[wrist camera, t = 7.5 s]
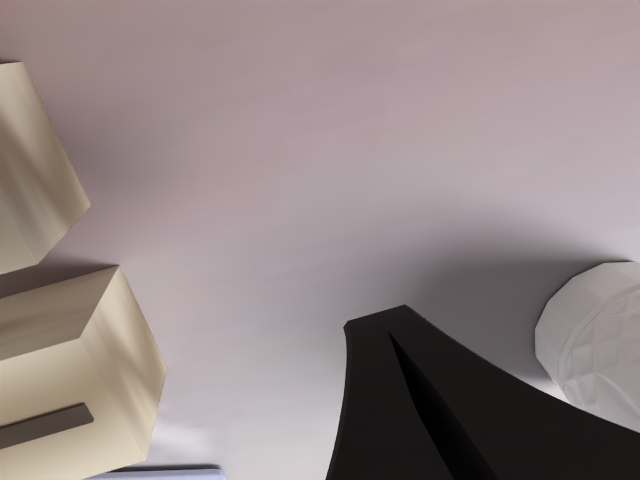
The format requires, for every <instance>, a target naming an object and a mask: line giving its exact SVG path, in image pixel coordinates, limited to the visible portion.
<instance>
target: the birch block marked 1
mask: <svg viewBox="0 0 640 480" xmlns="http://www.w3.org/2000/svg"><path fill="white" fill-rule="evenodd" d="M167 368H168V367H167V365H166V362H165V360H164V358H163V356H162V354H161V352H160V350H159V348H158V345H157V343H156V341H155V339H154V337H153V335H152V333H151V331H150V328H149V326H148V324H147V322H146V320H145V318H144V316H143V314H142V311H141V309H140V307H139V305H138V303H137V301H136V299H135V297H134V294H133V292H132V290H131V288H130V286H129V284H128V282H127V279H126V277H125V275H124V273H123V271H122V269H121V267H120V265H117V266H114V267H110V268H107V269H103V270H100V271H96V272H93V273H89V274H86V275H82V276H79V277H75V278H71V279H68V280H64V281H61V282H57V283H54V284H50V285H47V286H43V287H40V288H36V289H33V290H29V291H26V292H22V293H18V294H15V295H11V296H8V297H4V298H1V299H0V480H81V479H85V478H88V477H91V476H95V475H98V474H101V473H105V472H108V471H111V470H115V469H118V468H121V467H125V466H128V465H131V464H135V463H138V462H141V461H145V460H146V458H147V454H148V450H149V445H150V441H151V437H152V432H153V428H154V424H155V419H156V415H157V411H158V406H159V402H160V398H161V394H162V389H163V385H164V381H165V376H166V372H167Z"/></svg>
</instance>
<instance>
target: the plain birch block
mask: <svg viewBox="0 0 640 480" xmlns="http://www.w3.org/2000/svg"><path fill="white" fill-rule="evenodd" d="M90 206H91V204H90V202H89V200H88V198H87V196H86V194H85V192H84V190H83V188H82V186H81V183H80V181H79V179H78V177H77V175H76V173H75V171H74V169H73V167H72V165H71V162H70V160H69V158H68V156H67V154H66V152H65V150H64V148H63V146H62V144H61V141H60V139H59V137H58V135H57V133H56V131H55V129H54V127H53V125H52V122H51V120H50V118H49V116H48V114H47V112H46V110H45V108H44V106H43V104H42V101H41V99H40V97H39V95H38V93H37V91H36V89H35V87H34V85H33V83H32V80H31V78H30V76H29V74H28V72H27V70H26V68H25V66H24V64H23V62H16V63H6V64H0V275H1V274H5V273H8V272H12V271H15V270H19V269H22V268H26V267H29V266H33V265H36V264H38V263H39V262H40V261H41V260H42V259H43V258H44V257H45V256H46V255H47V253H48V252H49V251H50V250H51V249H52V248H53V247H54V246H55V245H56V244H57V242H58V241H59V240H60V239H61V238H62V237H63V236H64V235H65V234H66V232H67V231H68V230H69V229H70V228H71V227H72V226H73V225H74V224H75V223H76V221H77V220H78V219H79V218H80V217H81V216H82V215H83V214H84V213H85V212H86V210H87V209H88V208H89V207H90Z"/></svg>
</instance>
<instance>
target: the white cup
mask: <svg viewBox="0 0 640 480" xmlns="http://www.w3.org/2000/svg"><path fill="white" fill-rule="evenodd" d="M535 356H536V358H537V359H538V361H539V362H540V364H541V365H542V367H543V368H544V369H545V371H546V372H547V374H548V375H549V377H550V378H551V379H552V380H553V382H554V383H555V384H556V385H557V386H558V388H559V389H560V390H561V391H562V392H563V394H564V395H565V396H566V398H567V399H568V400H569V402H570V405H572V406H575V407H577V408H579V409H581V410H584V411H586V412H588V413H591V414H593V415H596V416H598V417H600V418H603V419H605V420H608V421H611V422H613V423H616V424H618V425H621V426H624V427H626V428H629V429H631V430H634V431H637V432H639V433H640V264H639V263H637V262H615V263H603V264H600V265H598V266H596V267H594V268H592V269H589V270H587V271H585V272H583V273H581V274H579V275H577V276H574V277H573V278H571V279H570V280H569V281H568V282H567V283H566V284H565V285H564V286H563V287H562V288H561V289H560V290H559V291H558V292H557V293H556V294H555V295H554V296H553V297H552V298H551V299H550V300H549V301H548V302H547V304H546V306H545V308H544V311H543V313H542V315H541V317H540V319H539V321H538V323H537V325H536V328H535Z"/></svg>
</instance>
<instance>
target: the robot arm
mask: <svg viewBox="0 0 640 480" xmlns="http://www.w3.org/2000/svg"><path fill="white" fill-rule="evenodd" d="M343 328H344V332H345V336H346V346H347V364H346V376H345V388H344V397H343V403H342V409H341V415H340V420H339V426H338V432H337V436H336V441H335V445H334V450H333V454H332V458H331V462H330V465H329V469H328V473H327V476H326V480H640V433H639V432H637V431H634V430H631V429H629V428H626V427H624V426H621V425H618V424H616V423H613V422H611V421H608V420H605V419H603V418H600V417H598V416H596V415H593V414H591V413H588V412H586V411H584V410H581V409H579V408H577V407H575V406H572V405H570V404H568V403H566V402H564V401H562V400H560V399H557V398H555V397H553V396H551V395H549V394H547V393H545V392H542V391H540V390H538V389H536V388H535V387H533V386H531V385H529V384H527V383H525V382H523V381H521V380H520V379H518V378H516V377H514V376H512V375H511V374H509V373H507V372H505V371H504V370H502V369H500V368H498V367H497V366H495V365H493V364H492V363H490V362H488V361H487V360H485V359H483V358H482V357H480V356H479V355H477V354H476V353H474V352H472V351H471V350H469V349H468V348H466V347H465V346H463V345H462V344H460V343H458V342H457V341H456V340H454V339H453V338H451V337H450V336H448V335H447V334H445V333H444V332H443V331H441V330H440V329H438V328H437V327H436V326H434V325H433V324H431V323H430V322H429V321H427V320H426V319H425V318H423V317H422V316H421V315H419V314H418V313H417V312H415V311H414V310H413V309H412V308H410V307H408V306H407V305H402V306H398V307H395V308H391V309H388V310H384V311H381V312H377V313H374V314H371V315H367V316H364V317H360V318H357V319H353V320H350V321H347V323H346V324H345V326H344V327H343ZM81 480H227V474H226V472H225V471H223V470H221V469H195V470H166V471H138V472H110V473H101V474H98V475H95V476H91V477H88V478H85V479H81Z"/></svg>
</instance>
